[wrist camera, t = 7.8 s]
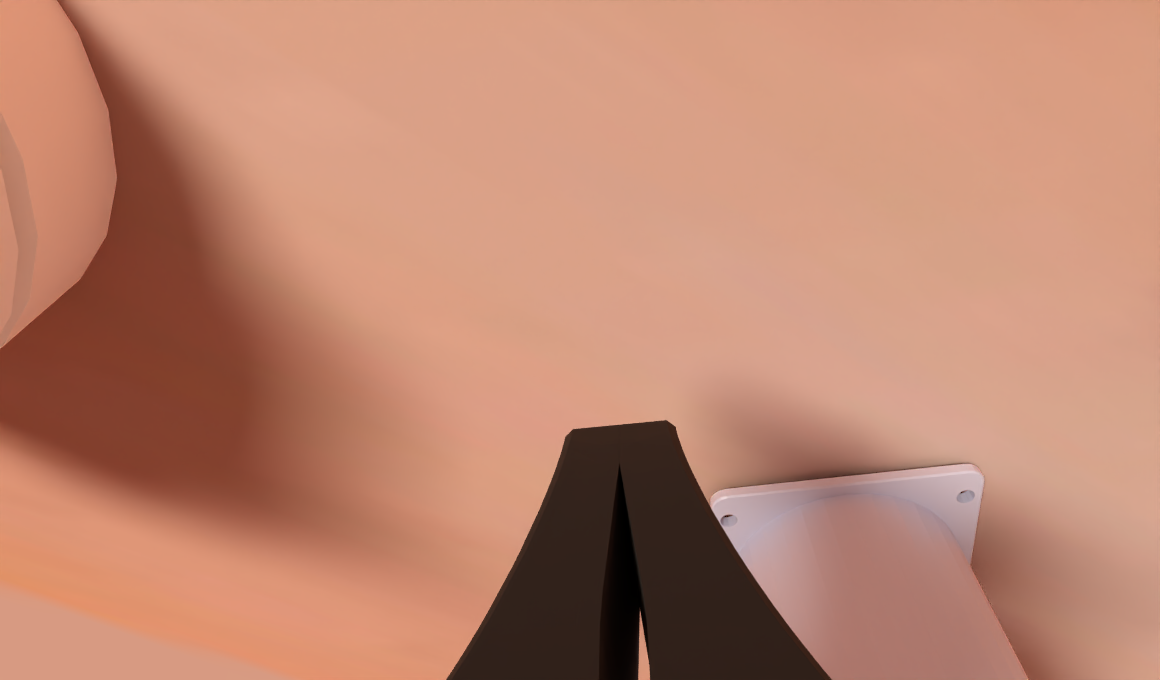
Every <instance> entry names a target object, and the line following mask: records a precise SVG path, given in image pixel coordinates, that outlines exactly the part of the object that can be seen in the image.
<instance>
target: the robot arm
mask: <svg viewBox="0 0 1160 680" xmlns="http://www.w3.org/2000/svg"><path fill="white" fill-rule="evenodd" d="M984 482H985V481H984V476H983V474H982V473H981V471H980V470H979V468H978V467H977V466H975V465H973V464H957V465H948V466H938V467H929V468H919V469H910V470H900V471H891V472H881V473H872V474H862V475H853V476H843V477H834V478H824V479H815V480H805V481H796V482H786V483H777V484H767V485H758V486H748V487H739V488H729V489H723V490H719V491H717V492H716V493H714V494H713V495H712V497H711V499H710V505H709V504H708V502H707V500H706V498H705V496H704V494H703V493H702V491H701V489H700V487H699V485H698V483H697V481H696V479H695V477H694V475H693V473H692V470H691V468H690V466H689V464H688V462H687V459H686V457H685V454H684V452H683V450H682V447H681V444H680V441H679V438H678V435H677V431H676V427H675V426H674V425H672V424H671V423H669V422H668V421H667V420H665V421H654V422H644V423H633V424H623V425H613V426H602V427H592V428H581V429H573V430H572V431H571V432H570V433H569V434H568V435H567V436H566V437H565V441H564V445H563V449H562V452H561V455H560V458H559V461H558V464H557V467H556V470H555V472H554V475H553V478H552V480H551V483H550V486H549V488H548V490H547V493H546V495H545V498H544V500H543V503H542V505H541V507H540V510H539V512H538V514H537V516H536V518H535V521H534V523H533V525H532V527H531V529H530V531H529V534H528V536H527V538H526V540H525V542H524V544H523V546H522V549H521V551H520V553H519V555H518V557H517V559H516V561H515V563H514V565H513V567H512V569H511V570H510V572H509V574H508V576H507V578H506V580H505V582H504V583H503V585H502V587H501V589H500V591H499V593H498V594H497V596H496V598H495V600H494V602H493V604H492V606H491V607H490V609H489V611H488V613H487V615H486V616H485V618H484V620H483V622H482V623H481V625H480V627H479V628H478V630H477V632H476V633H475V635H474V637H473V638H472V640H471V642H470V643H469V645H468V647H467V648H466V650H465V651H464V653H463V655H462V656H461V658H460V660H459V661H458V663H457V664H456V666H455V667H454V669H453V670H452V672H451V673H450V675H449V676H448V678H447V679H446V680H638V664H639V620H640V611H641V617H642V623H643V629H644V635H645V641H646V647H647V653H648V659H649V665H650V680H1029V679H1028V677H1027V675H1026V673H1025V671H1024V669H1023V667H1022V665H1021V664H1020V662H1019V660H1018V658H1017V656H1016V654H1015V652H1014V650H1013V648H1012V646H1011V644H1010V642H1009V640H1008V638H1007V636H1006V635H1005V633H1004V631H1003V629H1002V627H1001V625H1000V623H999V621H998V619H997V617H996V615H995V613H994V611H993V609H992V607H991V606H990V604H989V602H988V600H987V598H986V596H985V594H984V592H983V590H982V588H981V586H980V584H979V582H978V580H977V578H976V577H975V575H974V573H973V571H972V569H971V567H970V565H971V559H972V553H973V547H974V541H975V535H976V529H977V523H978V518H979V512H980V506H981V500H982V494H983V488H984ZM966 490H967V491H966ZM962 491H965V492H964V493H961V492H962ZM959 493H960V494H959ZM728 514H729V515H732V516H730V517H723V516H725V515H728Z"/></svg>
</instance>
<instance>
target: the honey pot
mask: <svg viewBox="0 0 1160 680" xmlns="http://www.w3.org/2000/svg"><path fill="white" fill-rule="evenodd" d="M116 182H117V173H116V165H115V158H114V150H113V142H112V134H111V127H110V119H109V111H108V108H107V105H106V103H105V100H104V98H103V95H102V93H101V90H100V87H99V85H98V82H97V80H96V77H95V75H94V72H93V70H92V67H91V64H90V62H89V59H88V57H87V54H86V52H85V49H84V47H83V44H82V41H81V39H80V36H79V34H78V32H77V30H76V29H75V27H74V26H73V24H72V23H71V21H70V20H69V18H68V16H67V15H66V13H65V12H64V10H63V9H62V7H61V6H60V4H59V3H58V1H57V0H0V349H1V348H2V347H3V346H4V345H5V344H7V343H8V342H9V341H10V340H11V339H12V338H13V337H15V336H16V335H17V334H18V333H19V332H20V331H22V330H23V329H24V328H25V327H26V326H27V325H28V324H30V323H31V322H32V321H33V320H34V319H35V318H36V317H38V316H39V315H40V314H41V313H42V312H43V311H44V310H46V309H47V308H48V307H49V306H50V305H51V304H53V303H54V302H55V301H56V300H57V299H58V298H59V297H61V296H62V295H63V294H64V293H65V292H66V291H67V290H69V289H70V288H71V287H72V286H73V285H74V284H76V283H77V282H78V281H79V280H80V279H81V277H82V276H83V274H84V273H85V271H86V269H87V268H88V266H89V264H90V263H91V261H92V259H93V258H94V256H95V254H96V253H97V251H98V249H99V248H100V246H101V244H102V243H103V241H104V239H105V238H106V236H107V232H108V227H109V221H110V216H111V210H112V204H113V199H114V193H115V188H116Z"/></svg>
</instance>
